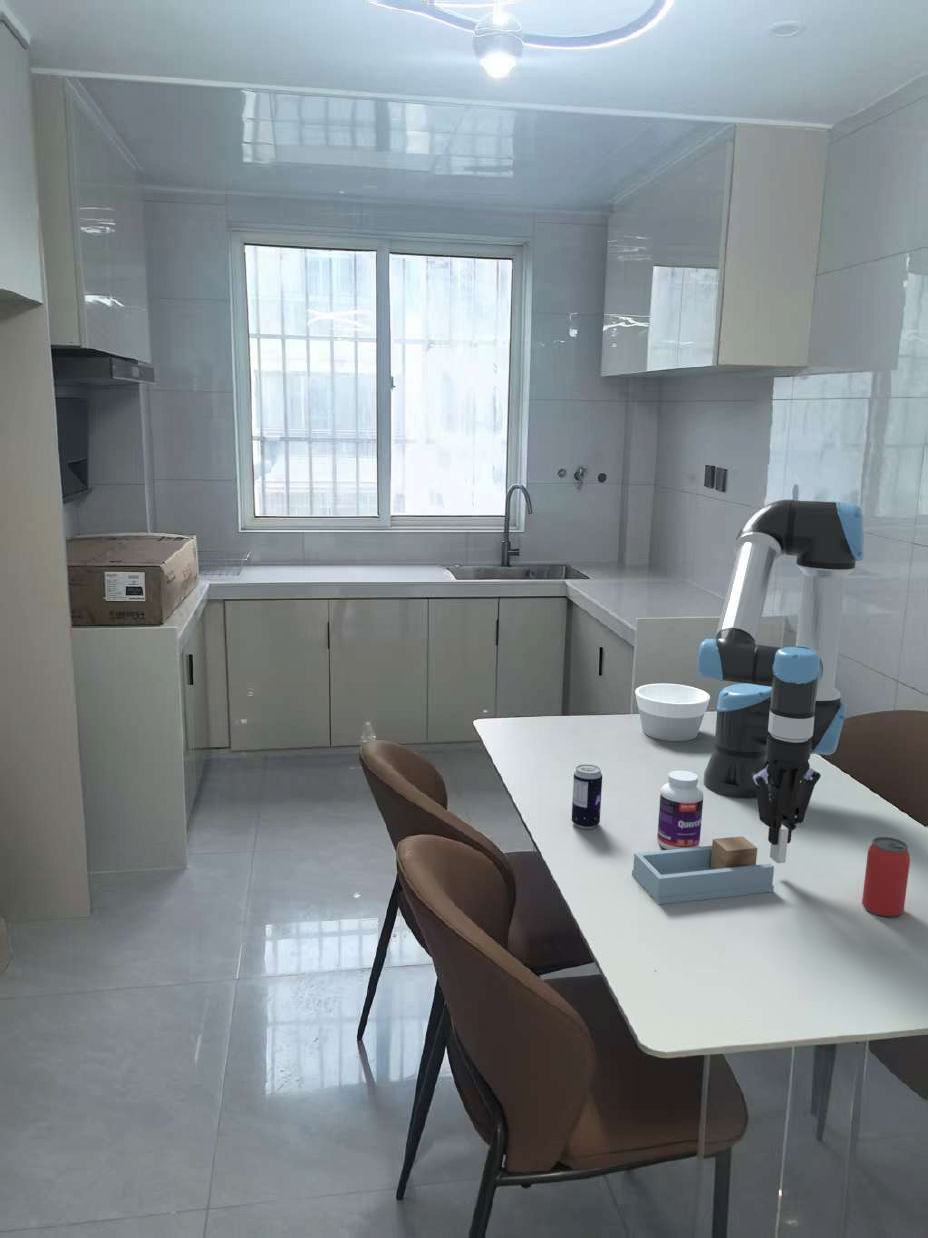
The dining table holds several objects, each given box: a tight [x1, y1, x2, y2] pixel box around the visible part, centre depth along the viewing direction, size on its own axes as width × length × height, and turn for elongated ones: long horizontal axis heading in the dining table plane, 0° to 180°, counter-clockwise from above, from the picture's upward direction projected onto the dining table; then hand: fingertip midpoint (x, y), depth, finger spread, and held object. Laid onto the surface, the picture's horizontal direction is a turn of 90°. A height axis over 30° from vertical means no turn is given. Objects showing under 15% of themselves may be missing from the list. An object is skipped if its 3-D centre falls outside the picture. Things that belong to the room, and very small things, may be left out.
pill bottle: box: [656, 770, 704, 850], centre depth 187 cm, size 8×8×14 cm
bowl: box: [634, 683, 711, 742], centre depth 255 cm, size 19×19×11 cm
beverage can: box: [571, 764, 603, 830], centre depth 196 cm, size 6×6×12 cm
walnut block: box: [710, 835, 758, 870], centre depth 174 cm, size 6×5×6 cm
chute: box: [631, 845, 775, 905], centre depth 173 cm, size 22×11×4 cm, turn 105°
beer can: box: [861, 836, 911, 918], centre depth 164 cm, size 7×7×12 cm
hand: (777, 859), depth 176 cm, fingers closed
